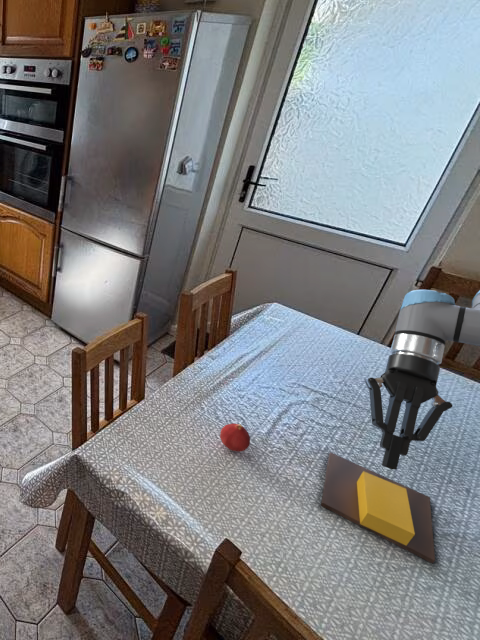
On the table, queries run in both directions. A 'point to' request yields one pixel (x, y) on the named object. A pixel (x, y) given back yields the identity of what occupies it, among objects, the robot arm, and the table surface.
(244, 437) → the red round piece
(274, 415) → the table surface
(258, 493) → the table surface
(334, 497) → the board
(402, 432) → the robot arm
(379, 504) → the block
